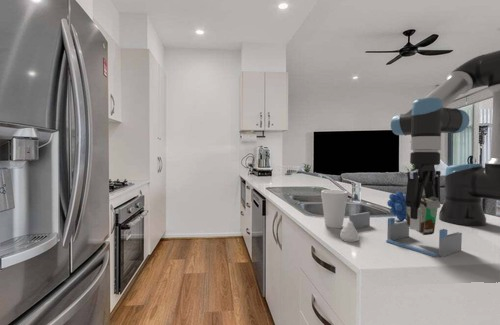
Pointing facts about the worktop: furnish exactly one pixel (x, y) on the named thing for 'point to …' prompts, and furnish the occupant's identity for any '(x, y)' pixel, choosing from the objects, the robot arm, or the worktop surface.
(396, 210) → the grapes
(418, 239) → the worktop surface
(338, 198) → the foam cup
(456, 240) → the blue-edged channel bracket
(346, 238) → the garlic bulb
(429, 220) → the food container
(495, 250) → the worktop surface
